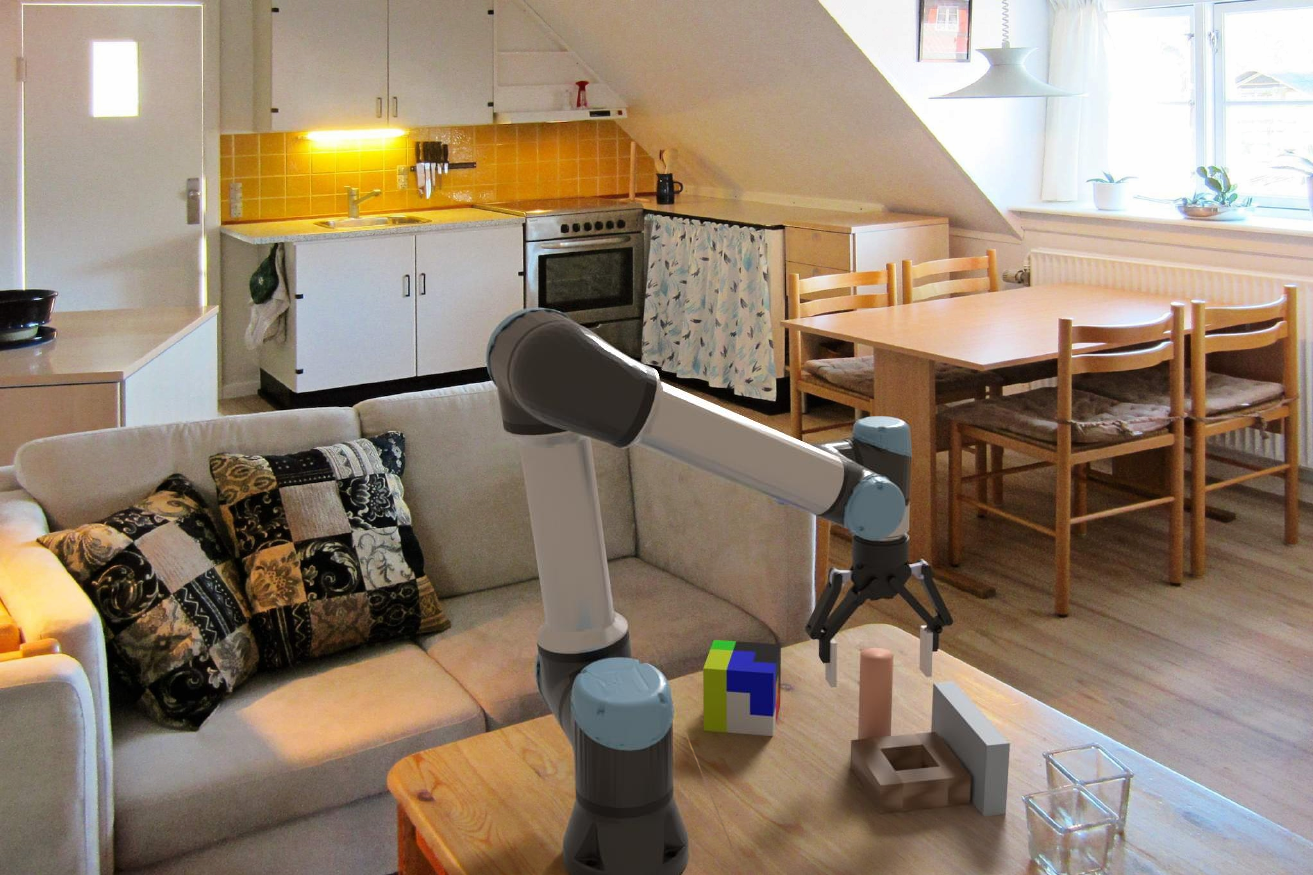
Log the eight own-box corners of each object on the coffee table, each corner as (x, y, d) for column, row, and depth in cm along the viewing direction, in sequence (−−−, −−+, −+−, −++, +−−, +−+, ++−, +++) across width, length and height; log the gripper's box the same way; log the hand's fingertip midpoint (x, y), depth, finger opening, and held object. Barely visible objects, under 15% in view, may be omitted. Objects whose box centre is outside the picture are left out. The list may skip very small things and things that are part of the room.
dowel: (863, 756, 178) (866, 662, 174) (853, 740, 182) (855, 649, 178) (895, 753, 178) (898, 659, 175) (884, 737, 183) (887, 646, 179)
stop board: (983, 817, 162) (987, 745, 160) (930, 748, 179) (933, 682, 177) (1005, 814, 163) (1010, 743, 160) (950, 746, 180) (953, 680, 177)
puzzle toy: (773, 737, 183) (773, 673, 181) (703, 732, 185) (703, 668, 183) (780, 706, 193) (780, 644, 190) (714, 701, 195) (714, 639, 192)
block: (879, 813, 163) (880, 785, 162) (850, 766, 175) (851, 740, 174) (969, 803, 165) (971, 775, 164) (934, 758, 176) (935, 731, 175)
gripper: (797, 549, 167) (798, 699, 172) (980, 533, 170) (975, 680, 176) (782, 531, 174) (783, 675, 179) (958, 515, 178) (953, 657, 183)
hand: (878, 678), depth 178 cm, fingers open, 13 cm apart
